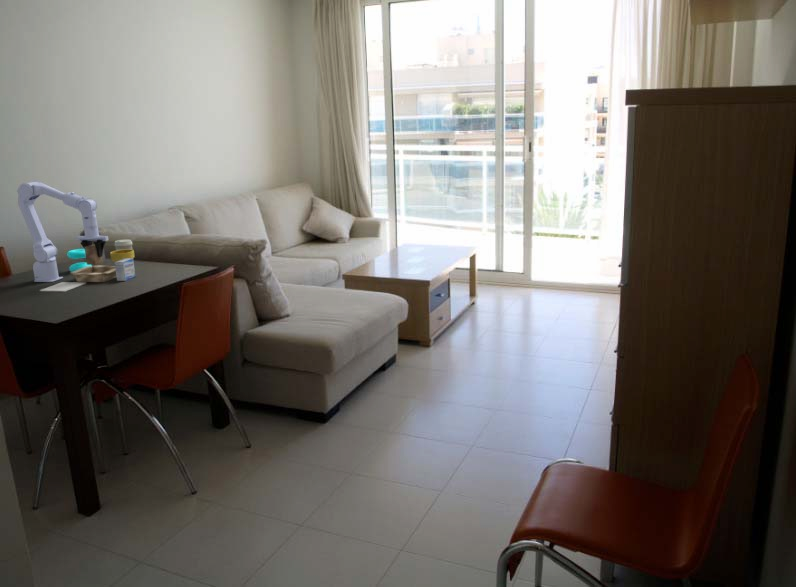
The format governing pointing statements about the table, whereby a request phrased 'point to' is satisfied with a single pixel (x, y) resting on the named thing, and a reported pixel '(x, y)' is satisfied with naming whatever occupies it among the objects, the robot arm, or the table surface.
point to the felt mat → (63, 286)
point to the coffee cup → (123, 244)
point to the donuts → (77, 255)
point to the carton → (95, 273)
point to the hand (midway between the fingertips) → (95, 256)
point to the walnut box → (93, 255)
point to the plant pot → (122, 254)
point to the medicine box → (125, 269)
